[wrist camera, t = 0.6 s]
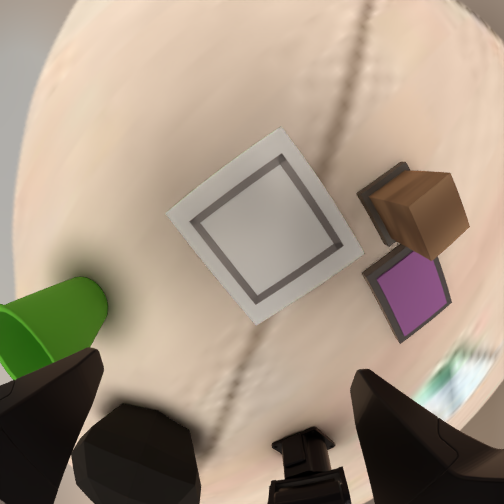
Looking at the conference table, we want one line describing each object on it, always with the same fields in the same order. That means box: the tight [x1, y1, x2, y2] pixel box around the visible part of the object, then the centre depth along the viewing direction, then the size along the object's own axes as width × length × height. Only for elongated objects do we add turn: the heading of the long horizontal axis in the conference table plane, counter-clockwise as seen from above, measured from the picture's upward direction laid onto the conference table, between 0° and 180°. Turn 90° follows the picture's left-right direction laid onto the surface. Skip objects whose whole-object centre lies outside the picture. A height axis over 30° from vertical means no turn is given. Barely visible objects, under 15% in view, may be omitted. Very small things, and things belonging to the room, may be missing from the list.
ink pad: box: [362, 244, 452, 344], centre depth 21 cm, size 9×7×1 cm
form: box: [165, 127, 365, 325], centre depth 21 cm, size 12×11×1 cm
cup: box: [0, 277, 108, 380], centre depth 18 cm, size 9×9×11 cm
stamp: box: [356, 162, 470, 261], centre depth 17 cm, size 5×5×7 cm
